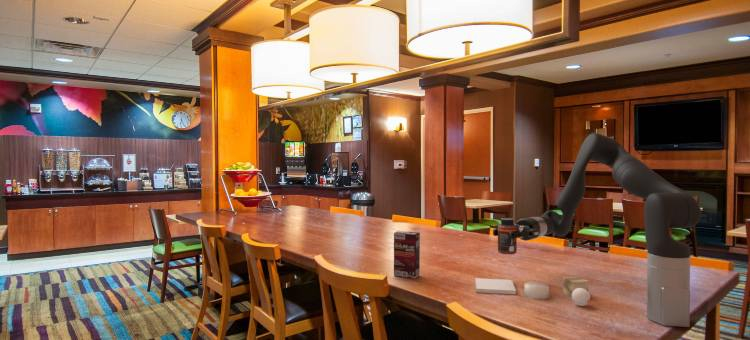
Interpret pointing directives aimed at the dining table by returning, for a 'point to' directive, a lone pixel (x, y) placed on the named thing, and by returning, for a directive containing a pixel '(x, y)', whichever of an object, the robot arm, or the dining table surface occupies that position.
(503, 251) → the supplement bottle
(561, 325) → the dining table surface
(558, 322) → the dining table surface
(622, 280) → the dining table surface
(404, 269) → the supplement box
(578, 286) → the maple block
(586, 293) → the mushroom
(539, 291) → the white rounded puck
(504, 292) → the plate
